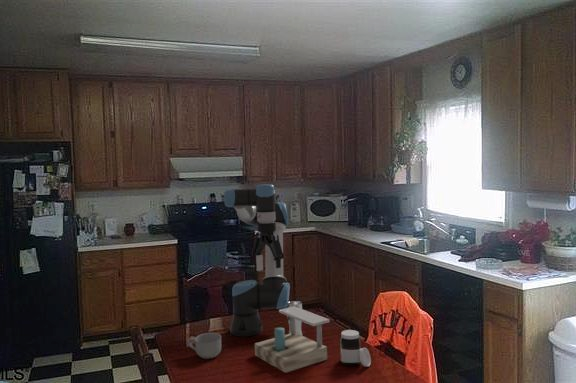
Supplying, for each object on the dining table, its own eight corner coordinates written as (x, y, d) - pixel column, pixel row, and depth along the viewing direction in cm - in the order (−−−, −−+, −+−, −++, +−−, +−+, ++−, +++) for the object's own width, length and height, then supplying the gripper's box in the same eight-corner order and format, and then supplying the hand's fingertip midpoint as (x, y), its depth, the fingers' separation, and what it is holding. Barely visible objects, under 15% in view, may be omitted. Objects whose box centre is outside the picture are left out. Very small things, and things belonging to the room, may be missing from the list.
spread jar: (339, 357, 197) (339, 328, 197) (368, 356, 197) (367, 328, 196) (342, 370, 185) (341, 339, 185) (372, 369, 185) (371, 338, 184)
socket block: (255, 355, 203) (254, 343, 203) (295, 343, 214) (294, 332, 214) (285, 372, 185) (284, 359, 184) (327, 359, 196) (326, 346, 196)
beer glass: (301, 338, 220) (300, 305, 219) (286, 338, 221) (285, 305, 221) (304, 333, 227) (303, 301, 226) (289, 332, 228) (288, 300, 227)
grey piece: (279, 335, 211) (278, 309, 210) (295, 331, 215) (294, 306, 215) (314, 351, 191) (313, 323, 190) (330, 346, 195) (329, 319, 195)
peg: (273, 358, 197) (272, 328, 196) (281, 356, 199) (280, 326, 199) (279, 361, 194) (278, 331, 193) (287, 359, 196) (286, 329, 195)
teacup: (226, 352, 207) (225, 333, 207) (214, 362, 197) (213, 342, 197) (197, 349, 212) (196, 331, 211) (183, 359, 202) (182, 339, 201)
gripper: (243, 220, 213) (245, 269, 214) (275, 225, 192) (277, 279, 193) (258, 219, 217) (260, 267, 218) (291, 223, 196) (293, 276, 197)
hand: (268, 273), depth 206 cm, fingers open, 13 cm apart
